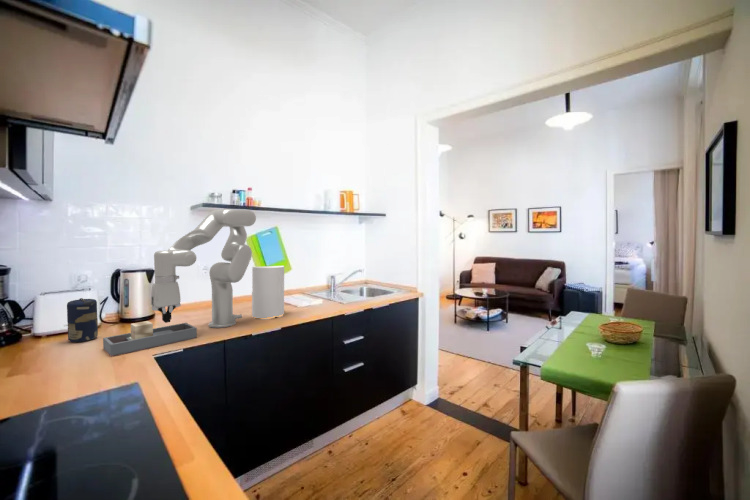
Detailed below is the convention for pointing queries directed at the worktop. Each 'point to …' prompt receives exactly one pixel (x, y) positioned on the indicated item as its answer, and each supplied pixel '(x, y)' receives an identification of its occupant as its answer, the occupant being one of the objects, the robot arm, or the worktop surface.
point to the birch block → (141, 330)
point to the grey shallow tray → (149, 339)
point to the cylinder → (267, 291)
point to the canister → (82, 320)
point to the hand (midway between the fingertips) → (167, 321)
